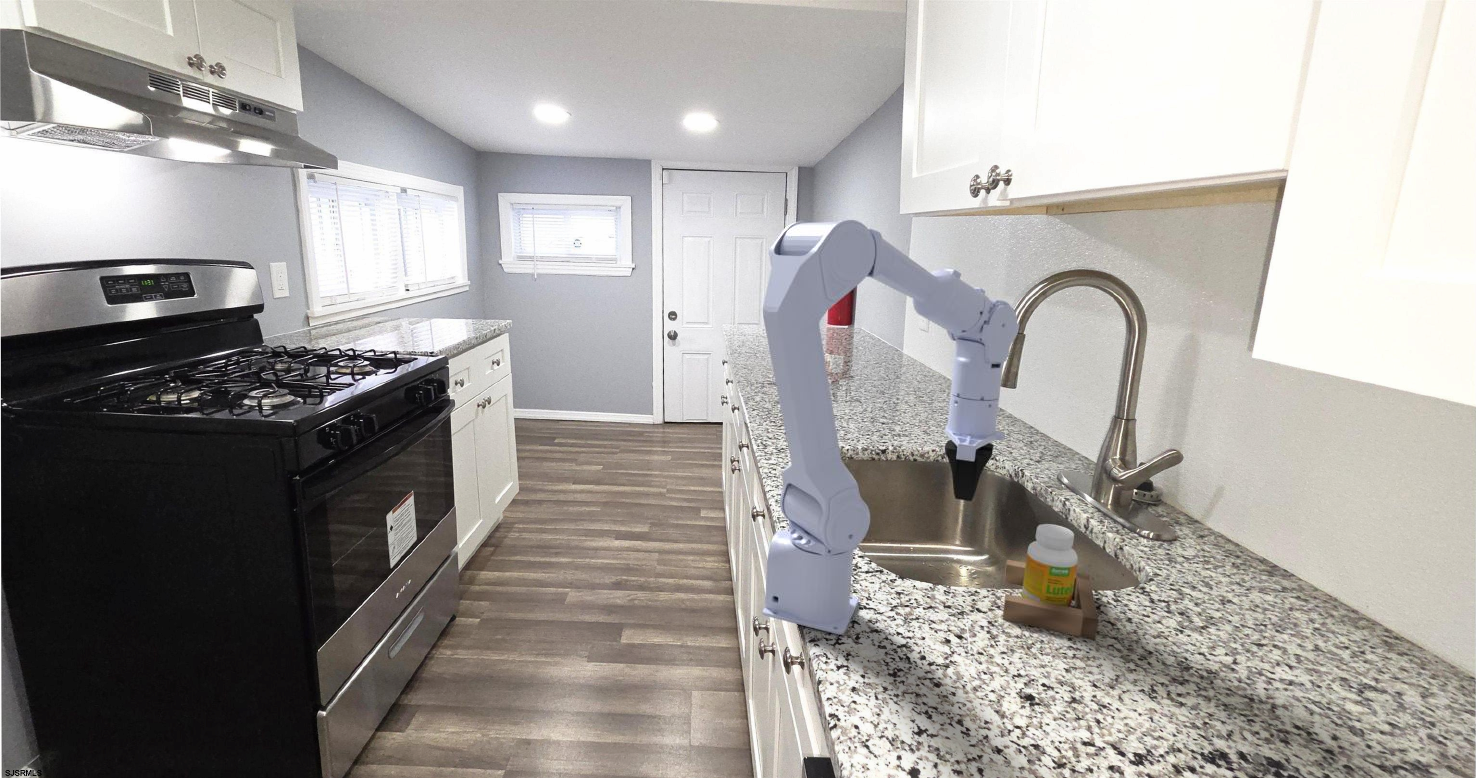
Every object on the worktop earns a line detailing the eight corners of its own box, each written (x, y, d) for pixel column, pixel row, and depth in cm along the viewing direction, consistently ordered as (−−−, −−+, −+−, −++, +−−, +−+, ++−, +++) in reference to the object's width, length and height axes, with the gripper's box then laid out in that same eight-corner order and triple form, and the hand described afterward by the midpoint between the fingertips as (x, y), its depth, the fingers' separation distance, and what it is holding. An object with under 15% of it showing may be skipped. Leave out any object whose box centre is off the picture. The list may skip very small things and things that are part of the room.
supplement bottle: (1043, 620, 75) (1054, 542, 73) (1011, 597, 80) (1020, 523, 78) (1080, 613, 77) (1092, 537, 75) (1046, 591, 82) (1056, 519, 80)
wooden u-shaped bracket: (1002, 619, 75) (1005, 599, 75) (1004, 576, 85) (1006, 559, 85) (1095, 639, 72) (1098, 619, 71) (1086, 593, 82) (1088, 574, 81)
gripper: (1008, 411, 73) (994, 524, 76) (1010, 388, 86) (998, 485, 89) (943, 404, 76) (932, 514, 79) (954, 382, 89) (944, 477, 92)
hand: (963, 498), depth 84 cm, fingers closed
